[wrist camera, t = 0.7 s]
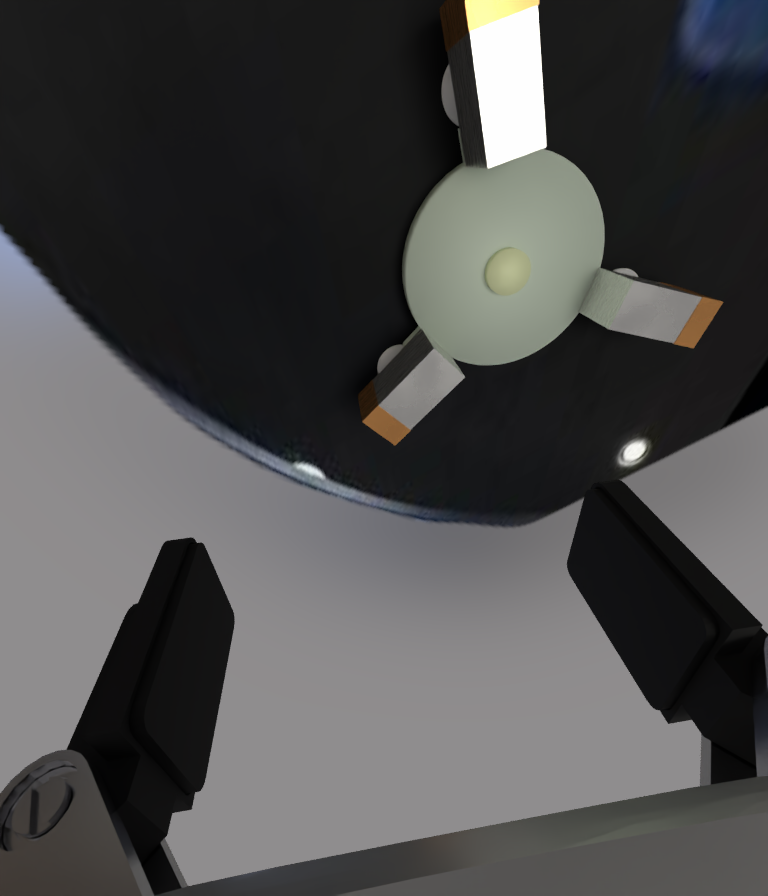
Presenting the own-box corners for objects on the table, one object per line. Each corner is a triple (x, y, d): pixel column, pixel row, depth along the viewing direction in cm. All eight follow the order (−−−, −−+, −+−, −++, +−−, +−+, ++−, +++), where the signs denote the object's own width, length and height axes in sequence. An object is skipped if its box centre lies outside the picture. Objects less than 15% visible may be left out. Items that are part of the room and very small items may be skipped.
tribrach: (459, 31, 25) (474, 18, 23) (706, 194, 32) (736, 197, 30) (334, 367, 36) (335, 381, 34) (538, 435, 43) (551, 450, 40)
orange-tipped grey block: (569, 307, 35) (608, 330, 30) (589, 263, 33) (635, 279, 28) (644, 324, 37) (693, 348, 32) (667, 282, 35) (723, 301, 30)
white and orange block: (509, 149, 28) (547, 146, 23) (459, 168, 28) (487, 168, 24) (492, -8, 24) (535, -51, 19) (433, 16, 24) (462, -21, 19)
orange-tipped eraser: (417, 322, 34) (433, 348, 29) (446, 348, 36) (465, 377, 31) (356, 388, 37) (362, 421, 32) (385, 410, 38) (395, 445, 33)
